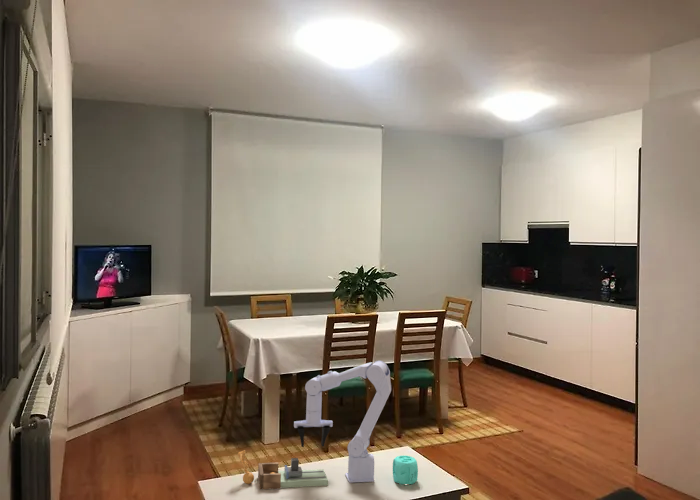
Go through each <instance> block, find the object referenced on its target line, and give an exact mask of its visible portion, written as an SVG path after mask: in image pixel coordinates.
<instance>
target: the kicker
mask: <svg viewBox="0 0 700 500" xmlns="http://www.w3.org/2000/svg"><path fill="white" fill-rule="evenodd" d="M299 460H300V459H299V458H298V457H292V458H291V459H290V466H288V465H287V464H285V465H284V470H283V471H285V476H286V479H289V477H298V476H302V470H303V469H302V467H301V466H299Z"/></svg>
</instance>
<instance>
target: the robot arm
mask: <svg viewBox="0 0 700 500" xmlns="http://www.w3.org/2000/svg"><path fill="white" fill-rule="evenodd" d="M359 377H360V378H363V379H368V380H369V382H370V383H371V384H372V385H373V386H374V388H375V390H376V391H375V395H374V397H373V398H372V400H371V403H370V405H369V407H368V409H367V411H366V414H365V415H364V418H363V420H362V422H361V424H360V427H359V429H358V430H357V432H356V434H355V435H354V437H352V439H351V440H350V441H349V443H348V444H347V452H348V463H347V465H348V466H347V472H345V474H344V475H345V477H346V479H347V481H348V483H351V484H352V483H367V482H368V483H370V482H371V483H372V482H375V456H374V454H373V453H369V452H368V449H367V448H368V447H369V445H370V438H371V435H372V432H373V430H374V428H375V426H376V424H377V421H378V419H379V418H380V415H381V413H382V411H383V410H384V407H385V405H386V403H387V400H388V399H389V396H390V394H391V392H392V383H391V371H390V368H389V366H388V365H387V363H386V362H384V361H383V360H375V361H374V362H373V361H372V362H371V361H370V362H367V363H363V364H360V365H357V366H355V367H353V368H350V369H346V370H345V371H341V372H337V371H335V370H334V371H332V370H329V371H327V373H325V374H322V375H320V374H318V375H317V376H315V377H313V378H311V379H309V380H308V381H306V383H305V386H304V389H305V391H306V406H305V407H306V408H305V409H306V410H305V413H306V414H305V419H303V420H296V421H293V427H294V429H297V432H298V434H299V439H300V443H301V445H300V446H301V447H302V448H304V447H305V428H313V427H314V428H321V439H320V440H321V441H320V442H321V447H325V442H326V439H327V438H328V434H329V433H330V431H331V428H332V427H333V425H334V424H333V423H334V422H333V420H329V419H328V420H326V419H322V406H323V405H322V403H323V402H322V401H323V397H322V395H323V392H325V391H329V390H331V389H335V388H337V387H340V386H341V384H342V382H345V381H349V380H351V379H354V378H359Z"/></svg>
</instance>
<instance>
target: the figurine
mask: <svg viewBox="0 0 700 500" xmlns="http://www.w3.org/2000/svg"><path fill="white" fill-rule="evenodd" d="M245 454H246V450H245V449H244V450H242V451H238V453H237V457H238V458H239V460H240V463H241V464H242V467H243V471H244V472H245V473H244V474H243V476H242V481H243V483H244V484H246V485H251V484H252V483H253V482H254V480H255V476H254V473H252V472H250V471H249V470H248V468H249V463H248V461H246V460H248V459H247V457H246V455H245Z"/></svg>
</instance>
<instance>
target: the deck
mask: <svg viewBox="0 0 700 500" xmlns="http://www.w3.org/2000/svg"><path fill="white" fill-rule="evenodd" d="M278 473H281V487H280V489H281V488H285V489H286V488H301V487H302V488H305V487H319V486H320V487H322V486H326V487H327V486H328V485H329V479H328V476H327V475H326V471H325V469H324V468H322V469H321V468H320V469H317V468H316V469H302V476H298V477H289V479H286V476H285V471H284V470H278Z"/></svg>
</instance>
